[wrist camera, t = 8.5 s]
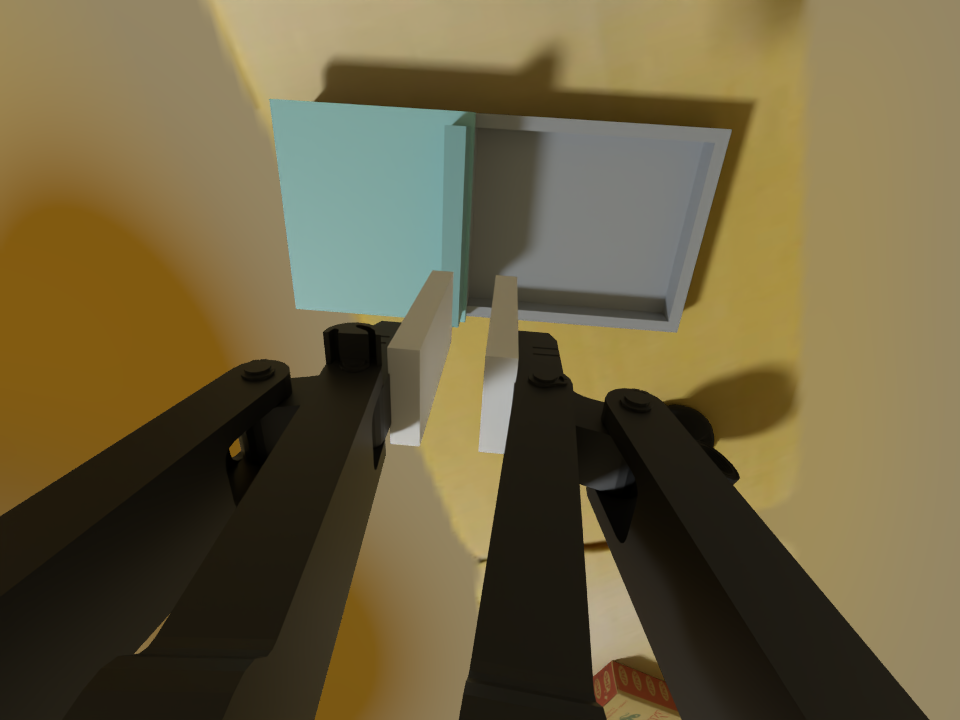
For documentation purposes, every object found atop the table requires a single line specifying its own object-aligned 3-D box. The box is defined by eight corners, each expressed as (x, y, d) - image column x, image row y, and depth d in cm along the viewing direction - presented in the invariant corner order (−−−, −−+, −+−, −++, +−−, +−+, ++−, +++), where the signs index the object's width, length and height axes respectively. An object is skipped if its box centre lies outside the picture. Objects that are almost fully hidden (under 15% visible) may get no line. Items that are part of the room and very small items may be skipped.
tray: (311, 103, 32) (296, 101, 29) (716, 129, 31) (731, 129, 28) (329, 293, 38) (317, 303, 35) (667, 320, 37) (676, 332, 34)
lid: (276, 99, 29) (243, 95, 25) (475, 112, 29) (470, 109, 25) (301, 304, 35) (277, 323, 32) (466, 317, 35) (460, 338, 31)
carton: (611, 656, 57) (618, 694, 53) (716, 698, 59) (731, 737, 55) (574, 689, 60) (579, 727, 56) (675, 728, 63) (686, 766, 59)
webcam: (730, 426, 41) (791, 509, 32) (675, 482, 44) (716, 572, 35) (658, 387, 39) (700, 462, 31) (606, 448, 43) (631, 532, 34)
